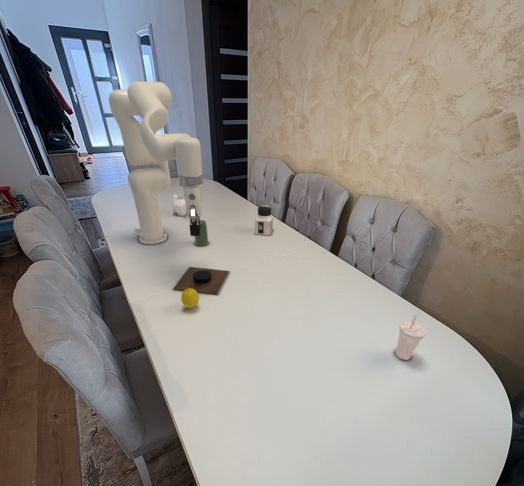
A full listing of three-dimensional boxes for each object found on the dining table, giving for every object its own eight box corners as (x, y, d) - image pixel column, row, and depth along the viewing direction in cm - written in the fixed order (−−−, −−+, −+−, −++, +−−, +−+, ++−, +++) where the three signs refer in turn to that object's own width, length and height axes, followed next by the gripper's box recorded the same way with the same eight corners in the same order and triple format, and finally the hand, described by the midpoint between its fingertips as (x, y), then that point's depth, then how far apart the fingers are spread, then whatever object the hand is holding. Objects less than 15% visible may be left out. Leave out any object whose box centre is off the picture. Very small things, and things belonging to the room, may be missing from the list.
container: (269, 235, 152) (271, 210, 145) (254, 234, 153) (255, 208, 146) (272, 229, 158) (273, 205, 151) (258, 228, 160) (258, 203, 152)
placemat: (173, 289, 110) (173, 288, 109) (190, 268, 123) (189, 266, 123) (216, 294, 108) (216, 293, 107) (228, 272, 121) (228, 271, 121)
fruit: (191, 315, 98) (189, 294, 93) (179, 309, 100) (176, 288, 96) (203, 306, 102) (201, 286, 97) (190, 301, 104) (188, 281, 100)
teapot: (179, 221, 165) (176, 204, 160) (168, 210, 180) (165, 194, 175) (196, 218, 170) (194, 201, 164) (184, 207, 184) (182, 192, 179)
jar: (193, 245, 140) (191, 223, 135) (197, 240, 145) (195, 219, 140) (205, 247, 140) (204, 225, 134) (210, 241, 145) (208, 220, 139)
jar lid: (209, 273, 119) (209, 269, 118) (213, 282, 114) (213, 277, 112) (192, 276, 117) (191, 271, 116) (195, 285, 111) (194, 280, 110)
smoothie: (386, 347, 88) (399, 308, 80) (408, 346, 88) (423, 307, 81) (396, 364, 82) (412, 323, 75) (419, 363, 83) (436, 323, 75)
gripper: (203, 187, 92) (206, 239, 101) (202, 173, 106) (205, 220, 115) (177, 188, 91) (183, 240, 100) (180, 173, 105) (185, 220, 114)
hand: (195, 229), depth 108 cm, fingers open, 9 cm apart
